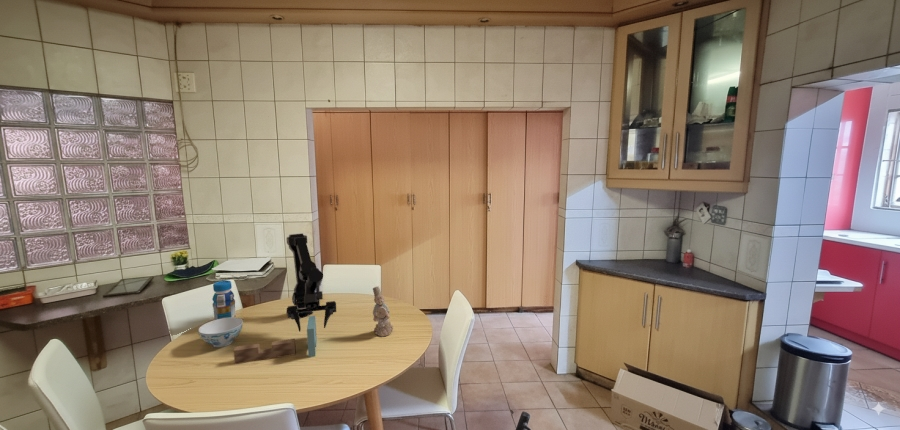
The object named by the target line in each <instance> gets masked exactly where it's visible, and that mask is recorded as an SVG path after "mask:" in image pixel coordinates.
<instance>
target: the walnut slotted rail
mask: <svg viewBox="0 0 900 430" xmlns="http://www.w3.org/2000/svg"><path fill="white" fill-rule="evenodd" d="M296 352H297V351H296V339H295V338H290V339H282V340H281V339H280V340H274V341H272V342H271V347H270V348H261V345H260V343H253V344H252V343H251V344H245V345H239V346H235V348H234V349H233V358H234V364H241V363H249V362H255V361H262V360H267V359H269V360H270V359H274V358H279V357H281V358H282V357H287V356H288V357H289V356H294V355H296Z"/></svg>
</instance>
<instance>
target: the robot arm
mask: <svg viewBox="0 0 900 430" xmlns="http://www.w3.org/2000/svg"><path fill="white" fill-rule="evenodd" d="M286 244H287V245H288V249H289V250H290V251H291V252H292V254H293V261H294V262H293V263H294V269H295V271H294V273H295V279H296V284H295V285H294V288H293V293H292V296H291V300H292V301H291V302H292V304H293V305H288V306H287V308H286V314H287V318H289V319H291V320H294V321H295V324H296V326H297V328H298V329H297V330H298V332H301V330H302V327H301V321H300V318H301V319H302V318H303V319H304V318H305V317H308V316H311V315H312V314H314V312H319V311H324V320H323V329H326V327H327V324H328V321H329V319H330V317H331V316H333V315H334V313H336V312H337V302H336V301H335V300H333V301H326V302H325V305H321V304H320V302H321V300H323V299H324V297H323V291H322V290H321V291H320V286H321V283H322V282H323V278H324V273H323V272H322V271H321V270H319V268H317V264H316V263H315V262H314V261H312V259H311V255H310V250H309V248H308V245H307V244H308V236H307V235H304V233H292V234H288V236H287V237H286Z"/></svg>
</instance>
